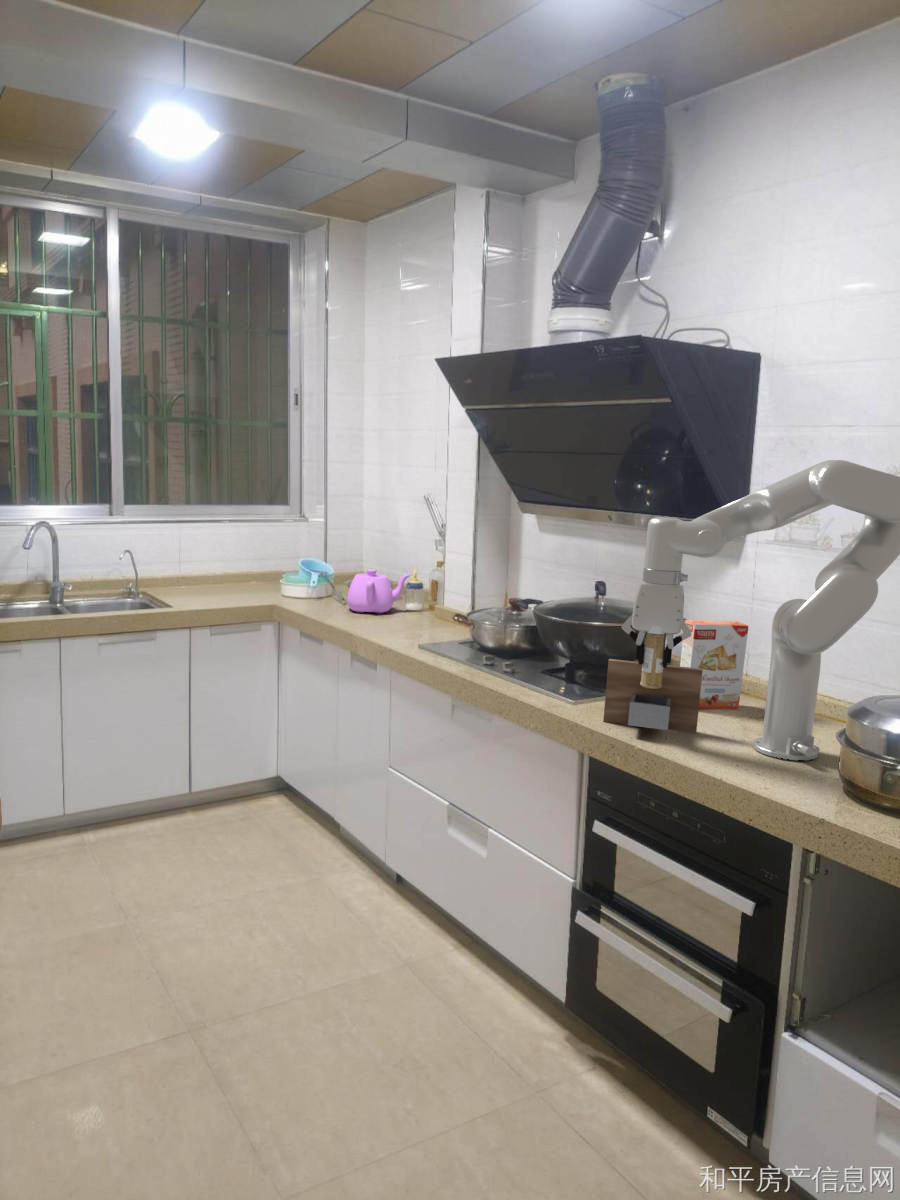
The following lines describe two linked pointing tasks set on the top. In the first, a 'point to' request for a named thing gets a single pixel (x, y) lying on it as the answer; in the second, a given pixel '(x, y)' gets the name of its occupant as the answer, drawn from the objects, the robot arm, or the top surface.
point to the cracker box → (717, 660)
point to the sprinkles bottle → (653, 658)
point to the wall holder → (653, 697)
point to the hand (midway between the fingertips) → (652, 663)
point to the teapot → (373, 592)
